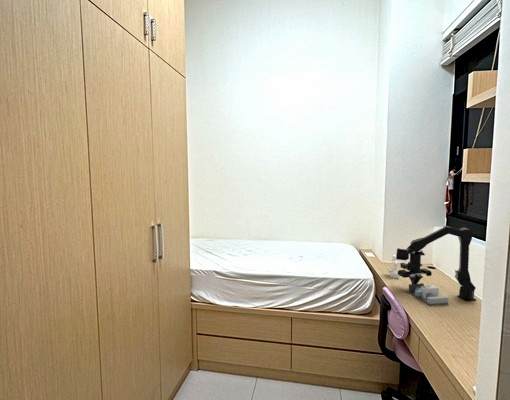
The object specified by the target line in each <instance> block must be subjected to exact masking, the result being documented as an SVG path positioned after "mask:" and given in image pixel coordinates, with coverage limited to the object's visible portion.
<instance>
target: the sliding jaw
mask: <svg viewBox="0 0 510 400" xmlns="http://www.w3.org/2000/svg"><path fill="white" fill-rule="evenodd" d="M421 286H425V284H424V283H417V284H412V283H410V284H408V289H409V291H415V295H416V296H420V294H421Z"/></svg>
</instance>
